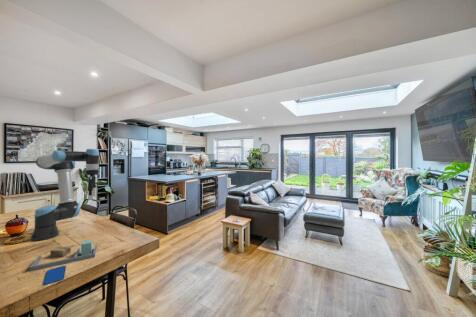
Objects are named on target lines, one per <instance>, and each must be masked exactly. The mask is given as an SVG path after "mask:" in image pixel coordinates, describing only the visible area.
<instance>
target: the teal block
mask: <svg viewBox="0 0 476 317" xmlns="http://www.w3.org/2000/svg"><path fill="white" fill-rule="evenodd" d="M92 253H93V239H90V240H85V241H82V242H81V244H80V256H84V255H88V254H92Z"/></svg>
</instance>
